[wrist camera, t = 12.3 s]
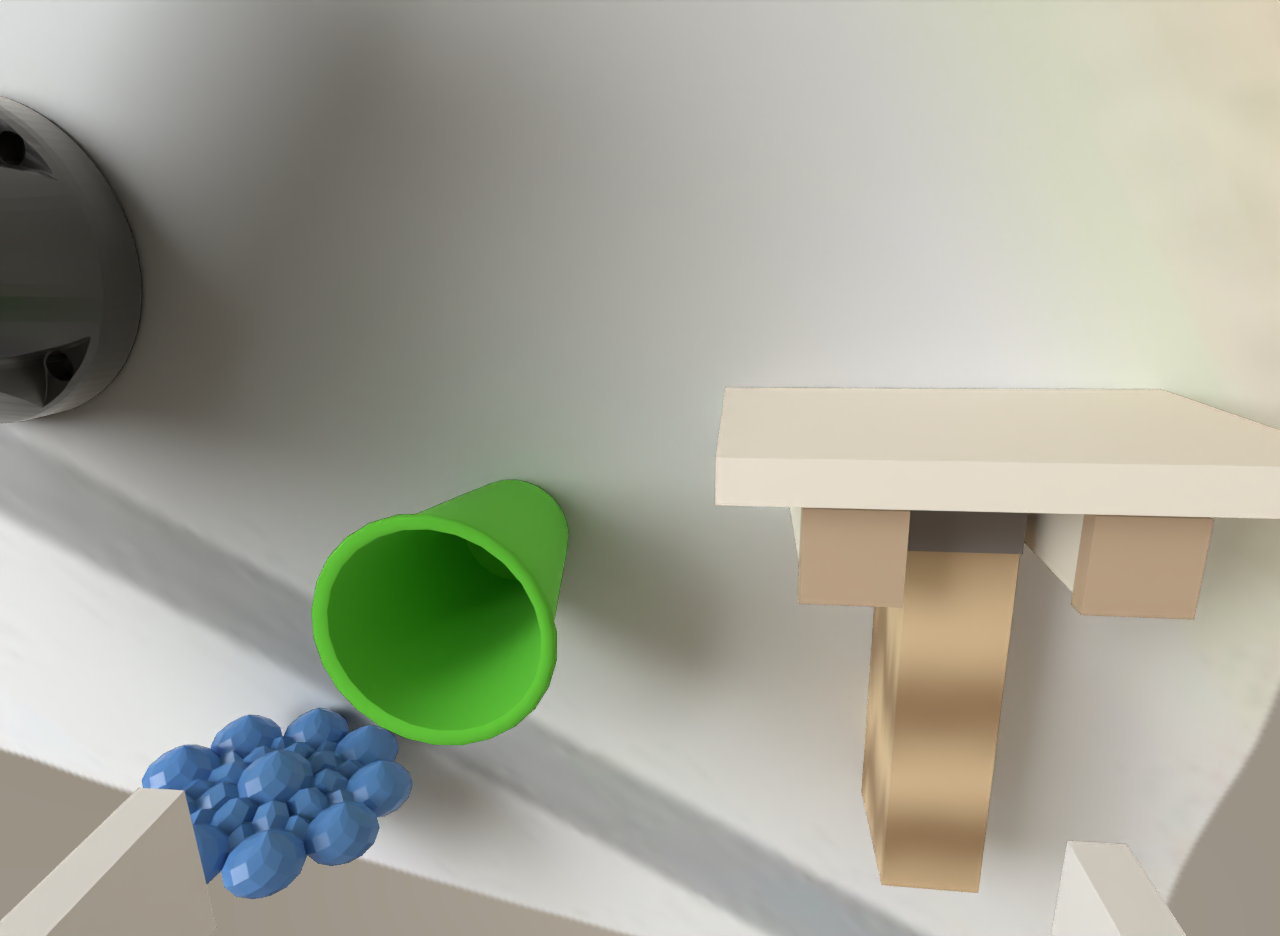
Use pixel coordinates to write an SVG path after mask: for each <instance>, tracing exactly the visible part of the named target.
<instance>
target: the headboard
mask: <svg viewBox="0 0 1280 936" xmlns="http://www.w3.org/2000/svg"><path fill="white" fill-rule="evenodd" d="M715 505H724V506H766V507H790V512H791V518H792V524H793V530H794V535H795V541H796V547H797V553H798V559H799V571H798V600H799V604H822V605H847V606H872V607H897V608H903V596H904V584H905V572H906V559H907V547H908V535H909V523H910V510H931V511H973V512H1014V513H1027V521H1026V529H1025V537H1024V542H1025V543H1026V544H1027V545H1028V546H1029V548H1030V549H1031V550H1032V551H1033V552H1034V553H1035V554H1036V555H1037V556H1038V557H1039V558H1040V559H1041V560H1042V561H1043V562H1044V563H1045V564H1046V565H1047V567H1048V568H1049V569H1050V570H1051V571H1052V572H1053V573H1054V574H1055V575H1056V576H1057V577H1058V578H1059V579H1060V580H1061V581H1062V582H1063V583H1064V584H1065V586H1066V587H1067V588H1068V589H1069V590H1070V591H1071V592H1072V600H1071V605H1072V606H1073V607H1074V608H1075V609H1076V610H1077V611H1078V612H1079V613H1080V615H1096V616H1121V617H1146V618H1170V619H1194V618H1195V613H1196V608H1197V603H1198V598H1199V593H1200V588H1201V583H1202V577H1203V572H1204V567H1205V562H1206V557H1207V552H1208V547H1209V542H1210V537H1211V532H1212V527H1213V522H1214V519H1213V518H1211V517H1221V518H1262V519H1280V430H1278V429H1275V428H1272V427H1269V426H1266V425H1263V424H1261V423H1258V422H1255V421H1252V420H1249V419H1246V418H1243V417H1240V416H1237V415H1234V414H1231V413H1228V412H1225V411H1223V410H1220V409H1217V408H1214V407H1211V406H1208V405H1205V404H1202V403H1199V402H1196V401H1193V400H1190V399H1187V398H1184V397H1182V396H1179V395H1176V394H1173V393H1170V392H1167V391H1164V390H1161V389H968V388H734V387H725V394H724V401H723V408H722V415H721V422H720V430H719V437H718V444H717V451H716V470H715Z"/></svg>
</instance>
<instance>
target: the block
mask: <svg viewBox="0 0 1280 936" xmlns="http://www.w3.org/2000/svg"><path fill="white" fill-rule="evenodd" d="M1026 521H1027V513H1014V512H973V511H931V510H910V523H909V535H908V547H907V559H906V572H905V584H904V596H903V608H897V607H874V619H873V633H872V648H871V662H870V677H869V691H868V706H867V720H866V735H865V749H864V764H863V779H862V796H863V800H864V805H865V810H866V814H867V819H868V824H869V828H870V833H871V838H872V842H873V847H874V851H875V856H876V861H877V865H878V870H879V875H880V879H881V884H882V885H889V886H901V887H913V888H925V889H937V890H949V891H961V892H973V893H978V891H979V883H980V875H981V867H982V859H983V850H984V842H985V834H986V826H987V818H988V810H989V802H990V794H991V785H992V777H993V769H994V761H995V753H996V745H997V737H998V729H999V720H1000V712H1001V704H1002V696H1003V688H1004V680H1005V672H1006V663H1007V655H1008V647H1009V639H1010V631H1011V623H1012V615H1013V607H1014V598H1015V590H1016V582H1017V574H1018V566H1019V558H1020V554H1023V546H1024V537H1025V529H1026Z"/></svg>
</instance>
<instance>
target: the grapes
mask: <svg viewBox="0 0 1280 936" xmlns="http://www.w3.org/2000/svg"><path fill="white" fill-rule="evenodd" d="M398 749H399V748H398V745H397V742H396V738H395V737H394V736H393V735H392V734H391V733H390V732H389V731H387V730H386V729H384V728H381V727H378V726H375V725H367V726H363V727H360V728H358V729H356V730H354V731H352V732H350V733H349V729H348V725H347V721H346V720H345V719H344V718H343V717H342V716H340V715H339V714H338V713H337V712H334V711H331V710H328V709H323V708H318V709H314V710H311V711H309V712H307V713H305V714H303V715H301V716H299V717H298V718H297V719H296V720H295V721H294V722H292V723H291V724H290V725H289V726H288V728H287V730H286V732H285V735H284V737H283V736H282V732H281V728H280V727H279V726H278V725H277V724H276V723H275V722H273V721H272V720H271V719H268V718H265V717H262V716H259V715H247V716H243V717H241V718H239V719H237V720H235V721H233V722H231V723H229V724H228V725H227V726H226V727H224V728H223V729H222V730H221V731H220V732H219V733H217V735H216V737H215V739H214V741H213V743H212V745H211V749H210V748H207V747H203V746H199V745H183V746H179V747H176V748H174V749H172V750H170V751H168V752H166V753H164V754H163V755H162V756H160V757H159V758H158V759H157V760H156V761H155V762H153V763H152V764H151V765H150V766H149V768H148V769H147V771H146V773H145V775H144V777H143V779H142V784H143V788H151V789H169V790H184V791H185V795H186V799H187V804H188V808H189V812H190V817H191V821H192V825H193V829H194V834H195V838H196V842H197V846H198V851H199V855H200V859H201V863H202V868H203V872H204V876H205V880H206V884H208V883H209V882H210V881H211V880H212V879H213V878H214V877H215V876H216V875H217V874H218V873H219V872H220V871H221V870H222V871H221V873H222V878H223V883H224V887H225V888H226V889H227V890H229V891H230V892H231V893H233V894H234V895H235V896H237V897H242V898H248V899H256V898H263V897H266V896H270V895H273V894H275V893H277V892H278V891H280V890H282V889H284V888H286V887H287V886H288V885H289V884H290V883H291V882H292V881H293V880H294V879H295V878H296V877H297V876H298V875H299V874H300V872H301V870H302V867H303V864H304V862H305V859H306V856H307V855H308V856H309V857H311V858H312V859H313V860H314V861H315V862H317V863H318V864H323V865H329V866H334V865H341V864H345V863H349V862H351V861H353V860H355V859H356V858H358V857H360V856H362V855H363V854H364V853H365V852H366V851H367V850H368V849H369V848H370V847H371V846H372V845H373V844H374V842H375V839H376V836H377V833H378V830H379V824H378V820H377V817H382V816H386V815H387V814H389V813H391V812H393V811H395V810H397V809H398V808H399V807H400V806H401V805H402V804H403V803H404V802H405V801H406V800H407V799H408V797H409V794H410V790H411V787H412V781H411V778H410V775H409V772H408V771H407V770H405V769H404V768H403V767H402V766H401V765H400V764H398V763H395V762H394V760H395V758H396V755H397V752H398Z"/></svg>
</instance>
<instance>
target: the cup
mask: <svg viewBox="0 0 1280 936" xmlns="http://www.w3.org/2000/svg"><path fill="white" fill-rule="evenodd" d="M567 546H568V527H567V523H566V519H565V516H564V514H563V512H562V510H561V508H560V506H559V505H558V504H557V503H556V502H555V500H554V499H553V498H552V497H551V496H550V495H549V494H547V493H546V492H545V491H544V490H542V489H541V488H539V487H537V486H535V485H533V484H530V483H528V482H524V481H519V480H501V481H498V482H494V483H491V484H488V485H486V486H483V487H481V488H478V489H476V490H473V491H471V492H468V493H466V494H464V495H461V496H459V497H456V498H454V499H451V500H449V501H446V502H444V503H442V504H439V505H437V506H434V507H432V508H429V509H427V510H424V511H422V512H420V513H417V514H400V515H395V516H391V517H388V518H384V519H381V520H378V521H374V522H371V523H369V524H367V525H365V526H364V527H362V528H361V529H359V530H357V531H356V532H354V533H352V534H351V535H349V536H348V537H346V538H345V539H344V540H343V542H342V543H341V544H340V545H339V546H338V547H337V548H336V549H335V550H334V551H333V553H332V554H331V555H330V556H329V557H328V559H327V561H326V563H325V565H324V567H323V569H322V571H321V573H320V575H319V578H318V580H317V582H316V588H315V594H314V600H313V605H312V623H313V635H314V640H315V643H316V646H317V649H318V652H319V655H320V658H321V661H322V664H323V666H324V668H325V669H326V671H327V672H328V674H329V676H330V677H331V679H332V681H333V682H334V684H335V686H336V687H337V689H338V690H339V691H340V692H341V693H342V694H343V695H344V696H345V697H346V699H347V700H348V701H349V702H350V703H351V704H352V705H353V706H354V707H355V708H356V709H357V710H358V711H359V712H361V713H362V714H364V715H365V716H366V717H368V718H369V719H371V720H372V721H373V722H375V723H376V724H378V725H379V726H380V727H382V728H385V729H387V730H389V731H391V732H393V733H396V734H398V735H400V736H402V737H404V738H407V739H411V740H415V741H420V742H424V743H429V744H433V745H465V744H469V743H474V742H479V741H483V740H488V739H490V738H493V737H495V736H497V735H499V734H501V733H503V732H505V731H507V730H509V729H511V728H513V727H515V726H516V725H517V724H518V723H519V722H521V721H522V720H523V719H524V718H525V717H526V716H527V715H528V714H530V713H531V712H532V711H533V710H534V709H535V708H536V706H537V705H538V703H539V702H540V700H541V698H542V697H543V695H544V694H545V692H546V691H547V689H548V687H549V685H550V681H551V678H552V675H553V671H554V668H555V664H556V661H557V631H556V627H555V623H554V620H555V614H556V608H557V603H558V597H559V591H560V586H561V580H562V574H563V569H564V563H565V557H566V552H567Z"/></svg>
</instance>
